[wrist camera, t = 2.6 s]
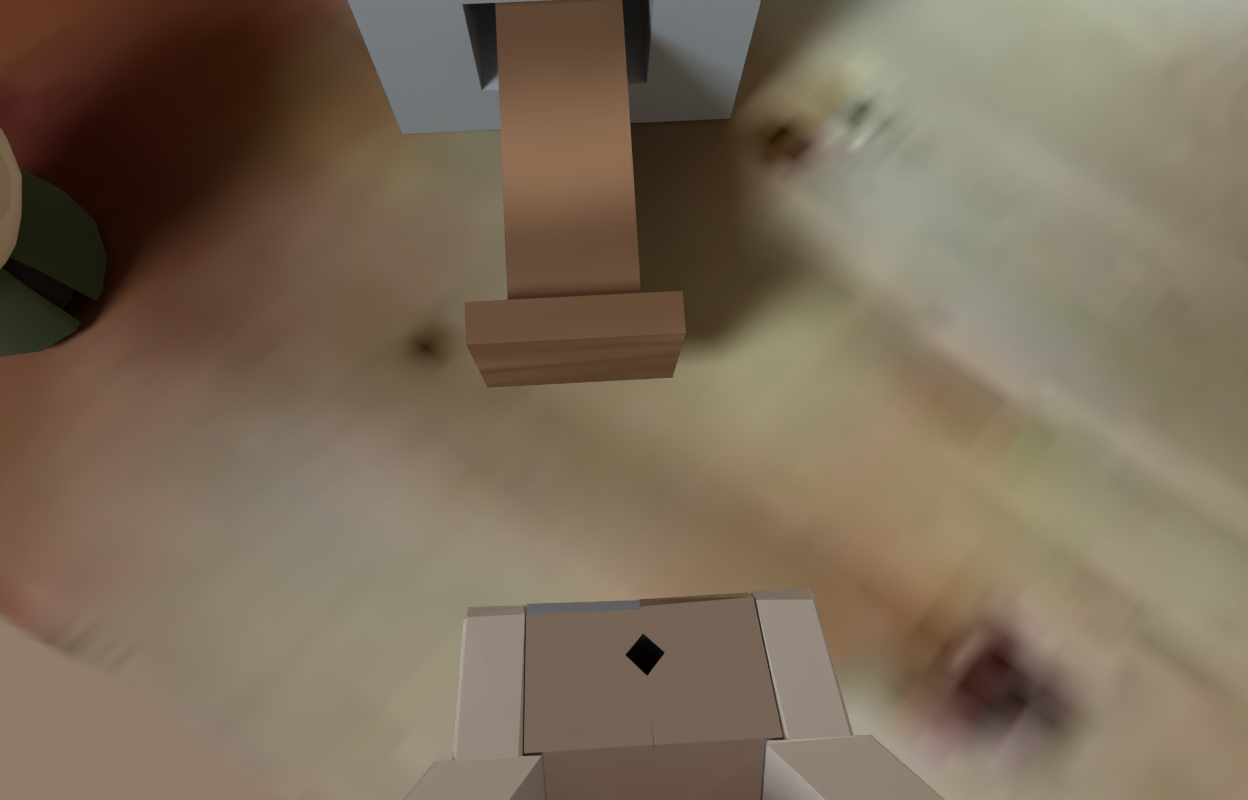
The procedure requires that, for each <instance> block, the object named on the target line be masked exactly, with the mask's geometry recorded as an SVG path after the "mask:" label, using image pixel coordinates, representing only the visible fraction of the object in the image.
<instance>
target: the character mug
mask: <svg viewBox="0 0 1248 800" xmlns="http://www.w3.org/2000/svg"><path fill="white" fill-rule="evenodd" d="M106 262H107V254H106V251H105V248H104V245H103V242H102V239H101V236H100V233H99V230H98V227H97V224H96V221H95V220H94V219H93V218H92V217H91V216H90V215H89V214H88V213H87V212H86V211H85V210H84V209H83V208H82V207H80V206H79V205H78V204H77V203H76V202H75V201H74V200H73V199H72V198H71V197H70V196H69V195H68V194H67V193H66V192H64V191H63V190H61V189H59V188H57V187H55V186H54V185H52V184H50V183H48V182H46V181H45V180H43V179H41V178H39V177H37V176H35V175H33V174H30V173H28V172H26V171H24V170H22V169H20V168H19V167H18V165H17V162H16V160H15V157H14V155H13V152H12V150H11V147H10V145H9V142H8V140H7V138H6V136H5V135H4V133H3V131H2V129H1V128H0V356H7V355H15V354H22V353H30V352H38V351H42V350H44V349H46V348H47V347H49V346H51V345H53V344H54V343H56V342H58V341H60V340H61V339H63V338H65V337H66V336H68V335H70V334H72V333H73V332H75V331H76V330H77V328H78V327H79V325H80V324H81V322H80V321H79V320H77V319H75V318H74V317H72V316H71V315H69V314H68V313H66V312H65V311H63V310H62V308H63V307H64V306H65V305H66V304H68V303H69V302H70V301H71V298H72V296H73V293H74V290H77V291H78V292H80V293H82V294H84V295H86V296H88V297H90V298H92V299H93V300H95V301H97V299H98V298H99V296H100V295H101V294H102V291H103V284H104V277H105V269H106Z"/></svg>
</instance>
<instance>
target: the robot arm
mask: <svg viewBox="0 0 1248 800" xmlns="http://www.w3.org/2000/svg"><path fill="white" fill-rule="evenodd" d="M403 800H945V799H943V798H942V797H941V796H940V795H939V794H938V793H937V792H935V791H934V790H933V789H932V788H931V787H930V786H929V785H927V784H926V783H925V782H924V781H923V780H922V779H921V778H919V777H918V776H917V775H916V774H915V773H914V772H913V771H912V770H910V769H909V768H908V767H907V766H906V765H905V764H904V763H902V762H901V761H900V760H899V759H898V758H897V757H896V756H894V755H893V754H892V753H891V752H890V751H889V750H888V749H886V748H885V747H884V746H883V745H882V744H881V743H880V742H878V741H877V740H876V739H875V738H874V737H873V736H872V735H857V736H853V732H852V729H851V725H850V722H849V718H848V714H847V711H846V707H845V704H844V700H843V697H842V693H841V690H840V686H839V682H838V679H837V675H836V672H835V668H834V665H833V661H832V657H831V654H830V650H829V647H828V643H827V640H826V636H825V633H824V629H823V625H822V622H821V618H820V615H819V611H818V608H817V604H816V600H815V597H814V595H813V594H812V593H811V592H810V590H809V589H808V588H800V589H785V590H771V591H757V592H752V593H751V594H749V593H748V592H745V593H730V594H715V595H700V596H685V597H670V598H655V599H640V600H634V601H604V602H574V603H544V604H527V607H526V606H490V607H468V610H467V613H466V616H465V619H464V624H463V637H462V649H461V661H460V673H459V686H458V698H457V710H456V723H455V735H454V747H453V759H452V760H451V761H439V762H434V763H433V765H432V766H431V767H430V768H429V769H428V771H427V772H426V773H425V774H424V775H423V777H422V778H421V779H420V780H419V781H418V783H417V784H416V785H415V786H414V787H413V789H412V790H411V791H410V792H409V793H408V795H407V796H406V797H405V798H404V799H403Z"/></svg>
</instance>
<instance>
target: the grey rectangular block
mask: <svg viewBox="0 0 1248 800" xmlns="http://www.w3.org/2000/svg"><path fill="white" fill-rule="evenodd" d="M523 1H546V0H348V2H349V5H350V7H351V9H352V12H353V14H354V17H355V19H356V22H357V24H358V26H359V29H360V31H361V34H362V36H363V39H364V41H365V43H366V46H367V48H368V51H369V53H370V56H371V58H372V61H373V63H374V65H375V68H376V70H377V73H378V75H379V78H380V80H381V82H382V85H383V87H384V90H385V92H386V95H387V97H388V99H389V102H390V104H391V107H392V109H393V112H394V114H395V117H396V119H397V121H398V124H399V126H400V129H401V131H402V134H414V133H435V132H456V131H477V130H499V129H501V127H500V103H499V79H498V56H497V32H496V8H495V3H500V2H523ZM760 2H761V0H622V4H623V20H624V35H625V51H626V66H627V82H628V97H629V113H630V123H647V122H668V121H690V120H711V119H730V117H731V113H732V109H733V105H734V102H735V98H736V94H737V90H738V86H739V83H740V79H741V75H742V71H743V67H744V63H745V60H746V56H747V52H748V48H749V44H750V41H751V37H752V33H753V29H754V25H755V21H756V18H757V14H758V10H759V6H760Z"/></svg>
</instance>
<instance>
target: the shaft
mask: <svg viewBox="0 0 1248 800" xmlns="http://www.w3.org/2000/svg"><path fill="white" fill-rule="evenodd" d="M495 8H496V32H497V56H498V79H499V103H500V127H501V150H502V174H503V198H504V221H505V245H506V269H507V293H508V300H495V301H476V302H465V318H466V345H467V347H468V349H469V351H470V353H471V355H472V357H473V359H474V361H475V363H476V365H477V367H478V369H479V371H480V373H481V375H482V377H483V379H484V381H485V383H486V385H487V387H505V386H524V385H542V384H561V383H579V382H598V381H616V380H635V379H653V378H672V377H673V374H674V371H675V367H676V364H677V361H678V357H679V354H680V351H681V348H682V344H683V341H684V338H685V334H686V327H685V313H684V299H683V291H669V292H650V293H641V284H640V269H639V253H638V238H637V222H636V207H635V191H634V175H633V160H632V144H631V129H630V113H629V97H628V82H627V66H626V51H625V35H624V20H623V4H622V0H546V1H523V2H500V3H495Z"/></svg>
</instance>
